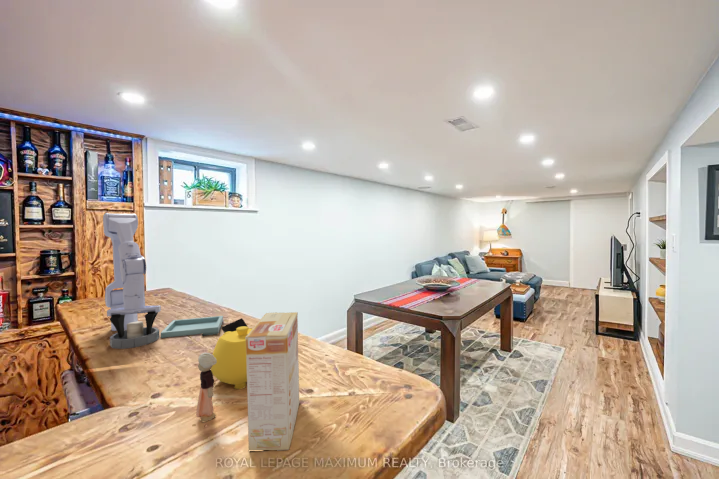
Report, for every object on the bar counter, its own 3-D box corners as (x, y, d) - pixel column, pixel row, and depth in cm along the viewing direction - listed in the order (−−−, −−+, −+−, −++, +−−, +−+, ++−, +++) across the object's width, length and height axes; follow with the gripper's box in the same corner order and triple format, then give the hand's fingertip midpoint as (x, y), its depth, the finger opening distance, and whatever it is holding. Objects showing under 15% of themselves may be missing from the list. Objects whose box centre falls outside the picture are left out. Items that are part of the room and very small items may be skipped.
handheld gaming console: (252, 340, 100) (235, 315, 102) (234, 354, 100) (218, 328, 102) (266, 333, 112) (250, 311, 113) (250, 346, 112) (235, 323, 113)
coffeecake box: (266, 403, 66) (265, 312, 65) (300, 401, 66) (299, 311, 66) (246, 453, 51) (243, 336, 51) (289, 450, 52) (287, 334, 51)
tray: (173, 326, 121) (172, 320, 121) (223, 321, 127) (222, 315, 127) (160, 340, 106) (160, 332, 106) (218, 334, 111) (218, 327, 111)
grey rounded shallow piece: (120, 339, 107) (120, 329, 107) (163, 335, 111) (163, 325, 111) (103, 353, 95) (102, 342, 94) (151, 347, 99) (151, 337, 98)
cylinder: (130, 339, 104) (129, 322, 104) (145, 338, 105) (145, 320, 105) (125, 344, 100) (124, 325, 100) (140, 342, 101) (140, 324, 101)
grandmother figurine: (190, 412, 63) (188, 350, 62) (210, 405, 65) (208, 345, 65) (203, 429, 57) (201, 362, 57) (224, 420, 60) (223, 356, 60)
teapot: (246, 360, 88) (245, 316, 88) (295, 379, 77) (294, 328, 76) (198, 379, 77) (197, 329, 77) (247, 404, 65) (246, 345, 65)
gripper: (101, 298, 96) (103, 342, 96) (155, 295, 101) (156, 336, 101) (111, 294, 103) (113, 335, 103) (162, 291, 107) (163, 330, 108)
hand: (135, 335), depth 103 cm, fingers open, 7 cm apart
